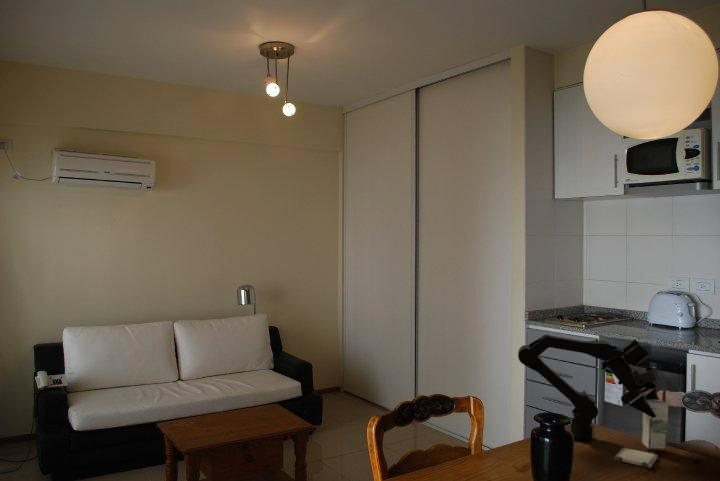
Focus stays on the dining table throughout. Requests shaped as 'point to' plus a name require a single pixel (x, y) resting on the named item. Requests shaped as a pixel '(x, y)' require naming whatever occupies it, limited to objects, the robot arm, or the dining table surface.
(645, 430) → the syrup box
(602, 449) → the dining table surface
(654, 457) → the dolly
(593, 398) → the robot arm
